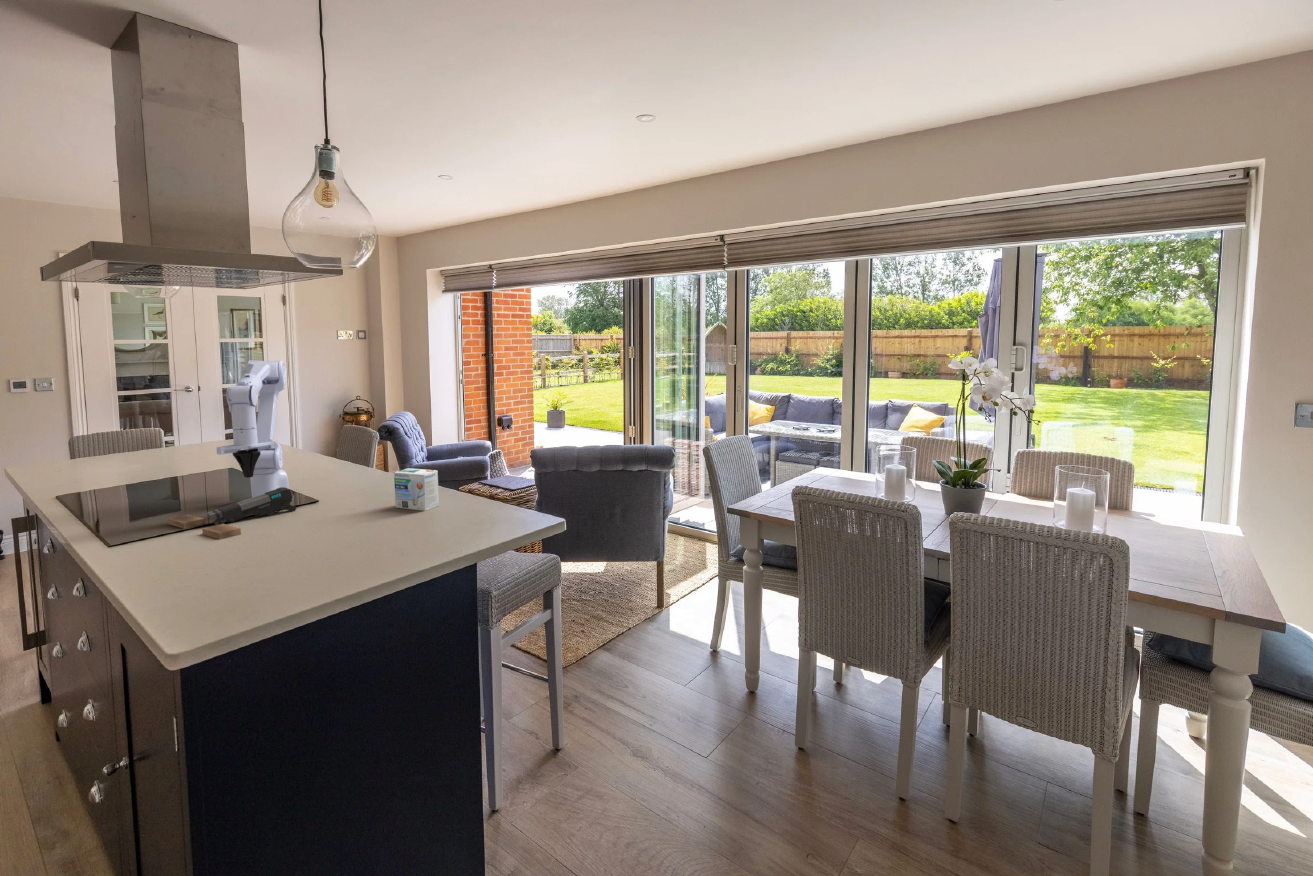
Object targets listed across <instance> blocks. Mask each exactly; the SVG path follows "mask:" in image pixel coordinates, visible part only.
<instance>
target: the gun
mask: <svg viewBox="0 0 1313 876" xmlns="http://www.w3.org/2000/svg"><path fill="white" fill-rule="evenodd" d="M292 502H293V494H292V491H291V489H290V488H289V489H288V488H286V487H284V488H283V487H280V488H277V489H275V490H272V491H269V492H266V493H265V494H262V495H259V496H256V497H253V498H252V497H250V498H246V499H244V500H242V501H238V502H232V503H230V504H229V503H228V504H226V505H224V506H220V507H218V508H217V509H213V510H211V511H207V512H206V515H207V518H208V519H209V520H211V521H212V522H213V524H214V526H215V525H220V524H224V523H226V522H230V523H233V522H236V521H239V520H242V519H244V518H247V517H249V516H252V515H253V516H257V515H259V516H261V517H262V516H264V515H267V514H270V513H271V514H272V513H273V514H279V512H280V511H282V509H284V510H287V511H289V512H295V511H296V510H297V507H296V506H294V505H292V504H291V503H292Z"/></svg>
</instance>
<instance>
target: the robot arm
mask: <svg viewBox="0 0 1313 876" xmlns="http://www.w3.org/2000/svg"><path fill="white" fill-rule="evenodd" d="M245 365H246V366H245V370H246V371H245V372H246V373H244V375H242V376H241V378H240V379H239V380H238V381H237V383H236V384H235V385H231V386H229V387H227V389H226V395H225V396H226V403H227V405H228V411H229V413H231V425H232V437H233V444H230V445H223V446H216V447H215V448H216V455H219V456H220V455H225V454H232V456H233V457H234V459H235V460H236V461H237V463H238V465H239V468H240V469H241V472H242V474H243V477H244V478H247V479H250V490H251V498H253V497H256V496H259V495H262V494H265V493H266V492H269V491H272V490H275V489H277V488H280V487H283V488H284V487H286V488H288V489H290V487H289V485H290V484H289V478H288V474H287V473H286V471H285V470H284V469H282V468H283V466H284V457H283V456H284V455H283V453H284V452H283V451H284V450H283V448H282V446H281V444H280V443H278V442H277V441H275V440H274V436H275V425H276V416H277V415H276V414H277V405H278V399H279V394H280V392H282V391H284V390H285V386H286V382H287V381H286V380H287V369H286V368H287V367H286V364H285V362H284V361H283V360H282V359H279V360H252V359H251V360H250V359H249V360H248V362H247V363H246V364H245ZM258 402H259V403H258ZM257 405H258V411H256V406H257ZM256 412H257V413H256ZM256 414H257V415H256Z"/></svg>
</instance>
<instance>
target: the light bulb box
mask: <svg viewBox="0 0 1313 876" xmlns="http://www.w3.org/2000/svg"><path fill="white" fill-rule="evenodd" d="M438 473H439V472H438V469H437V470H436V469H426V468H425V469H424V468H423V469H421V468H411V467H408V468H404V469H401V470H397V471H395V472H393V476H394V477H393V479H394V497H395V499H394V501H395V502H394V503H395V508H398V509H406V510H414V511H424V512H426V511H428V510H432V509H434V508H436V507H438V506H440V500H439V475H438Z"/></svg>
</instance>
